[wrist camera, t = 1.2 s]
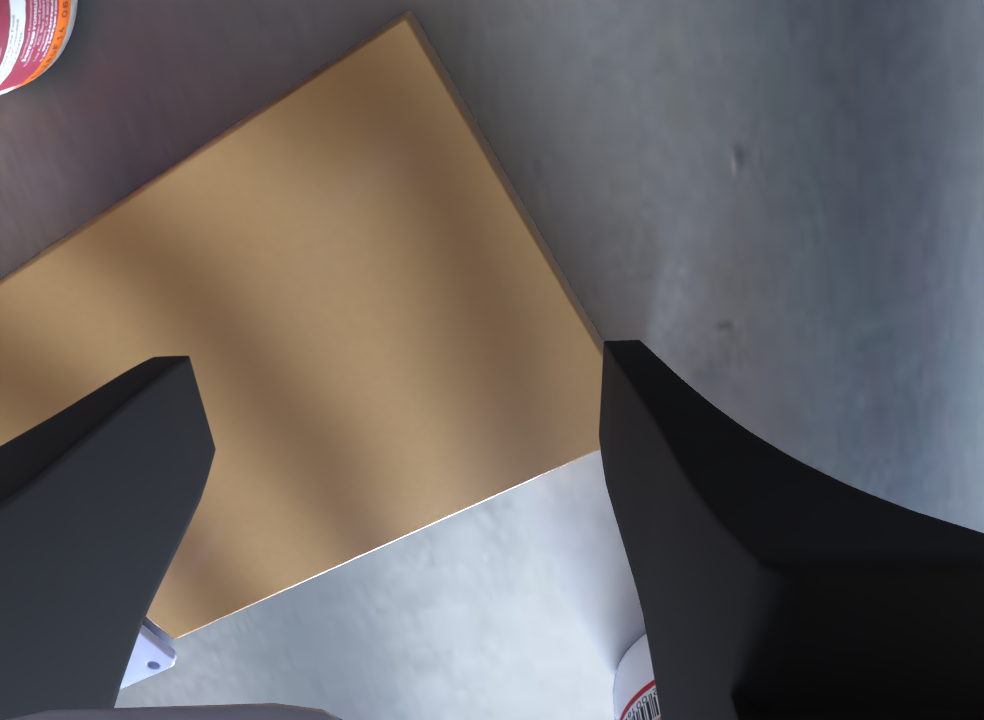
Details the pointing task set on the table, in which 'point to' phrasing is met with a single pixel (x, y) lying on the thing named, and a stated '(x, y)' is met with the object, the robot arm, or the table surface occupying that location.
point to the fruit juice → (635, 685)
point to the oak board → (322, 325)
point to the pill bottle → (32, 38)
